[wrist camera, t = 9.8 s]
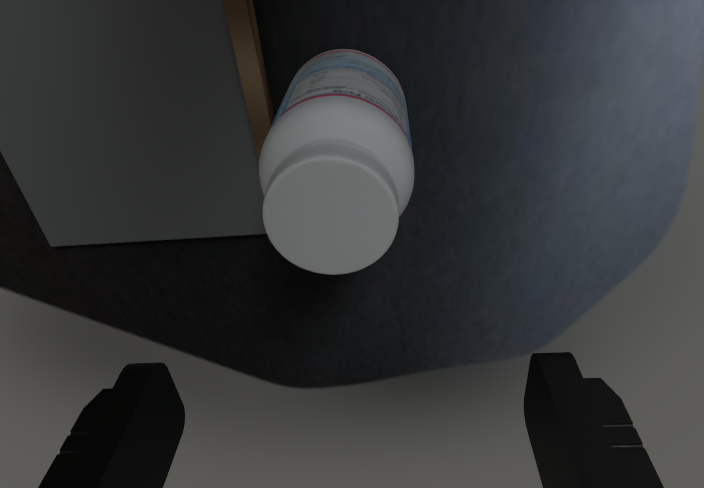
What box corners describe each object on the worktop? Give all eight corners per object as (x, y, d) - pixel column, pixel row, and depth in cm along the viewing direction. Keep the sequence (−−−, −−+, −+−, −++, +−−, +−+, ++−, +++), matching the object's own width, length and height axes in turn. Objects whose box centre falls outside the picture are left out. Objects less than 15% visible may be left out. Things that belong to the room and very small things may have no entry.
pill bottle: (356, 180, 28) (345, 318, 19) (265, 114, 27) (205, 231, 17) (431, 98, 26) (460, 213, 16) (335, 16, 24) (307, 95, 14)
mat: (-71, -3, 24) (-80, -1, 23) (238, -38, 23) (235, -36, 22) (55, 241, 32) (50, 246, 31) (290, 227, 30) (289, 232, 30)
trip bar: (228, -11, 23) (221, -7, 22) (249, -13, 23) (243, -9, 22) (276, 213, 30) (272, 224, 29) (292, 212, 30) (289, 223, 29)
